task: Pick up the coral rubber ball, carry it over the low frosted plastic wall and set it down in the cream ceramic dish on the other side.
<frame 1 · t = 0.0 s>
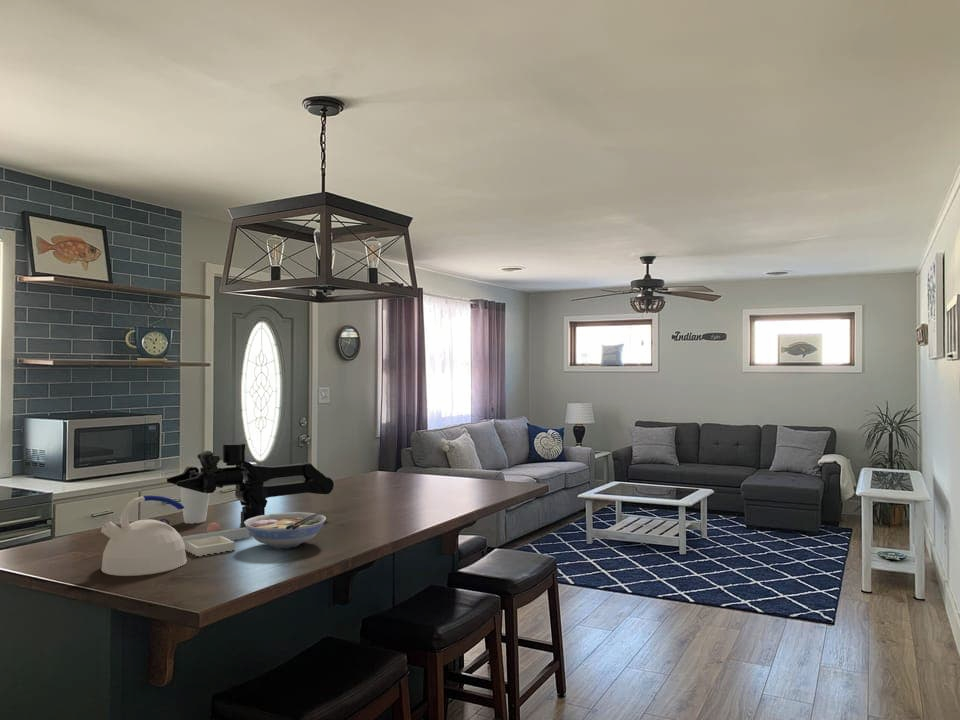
hand: (171, 482, 226), 17 cm above the table, tool horizontal, fingers open, 9 cm apart
ball: (213, 529, 228), point 2 cm above the table
kettle: (144, 566, 195), on the table
wall: (214, 542, 219), on the table
ramen bowl: (285, 546, 215), on the table
dish: (209, 550, 210), on the table
cup: (195, 522, 249), on the table
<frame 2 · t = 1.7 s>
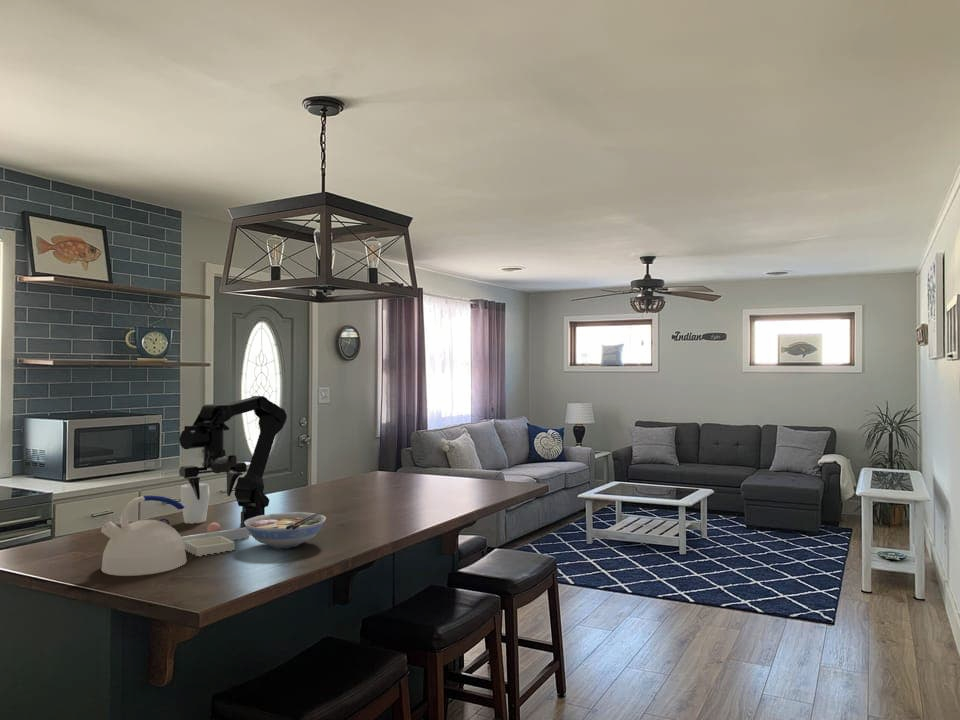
hand: (213, 497, 228), 11 cm above the table, tool pointing down, fingers open, 9 cm apart
nothing on the table moved.
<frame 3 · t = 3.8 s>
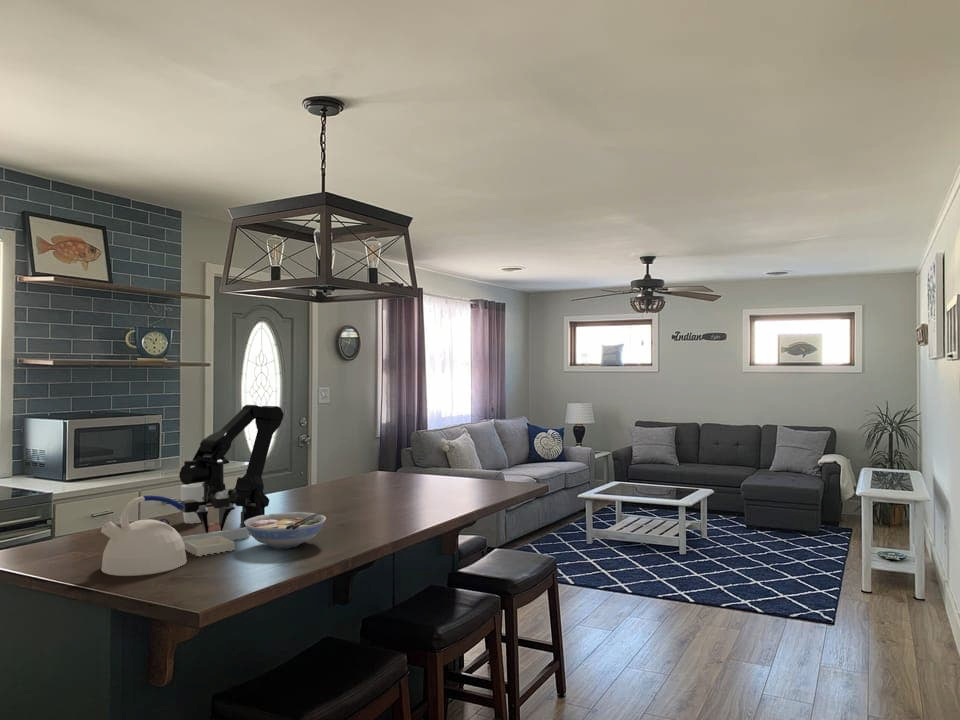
hand: (213, 531, 228), 1 cm above the table, tool pointing down, fingers closed on ball, 4 cm apart
ball: (213, 529, 228), point 2 cm above the table, touching gripper
everything else where it was.
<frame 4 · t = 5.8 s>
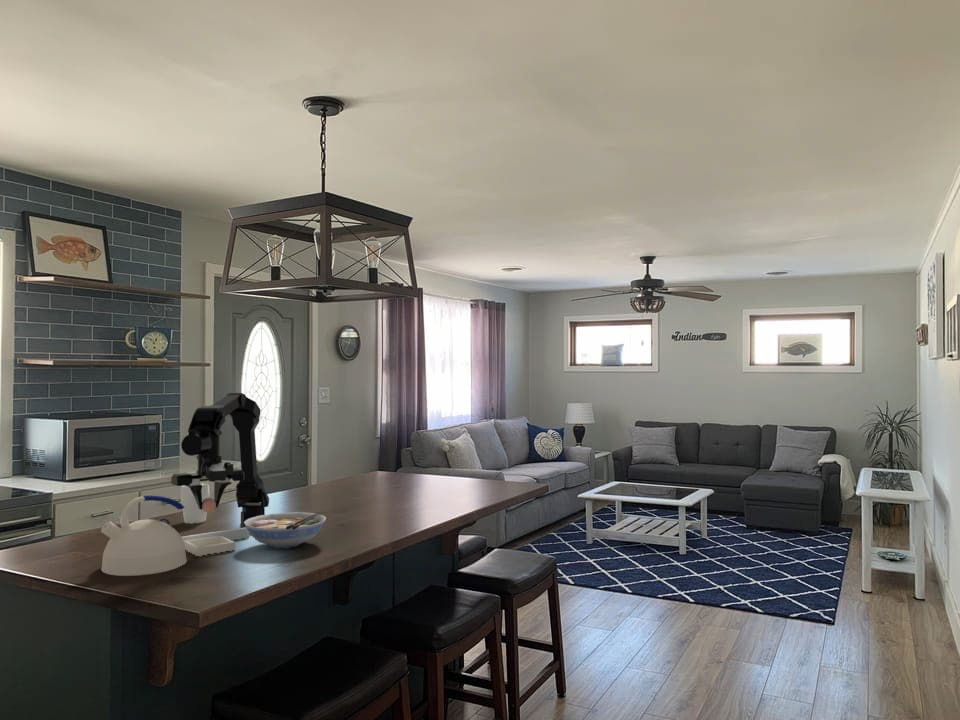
hand: (208, 508, 211), 12 cm above the table, tool pointing down, fingers closed on ball, 4 cm apart
ball: (208, 505, 211), point 12 cm above the table, touching gripper
everything else where it was.
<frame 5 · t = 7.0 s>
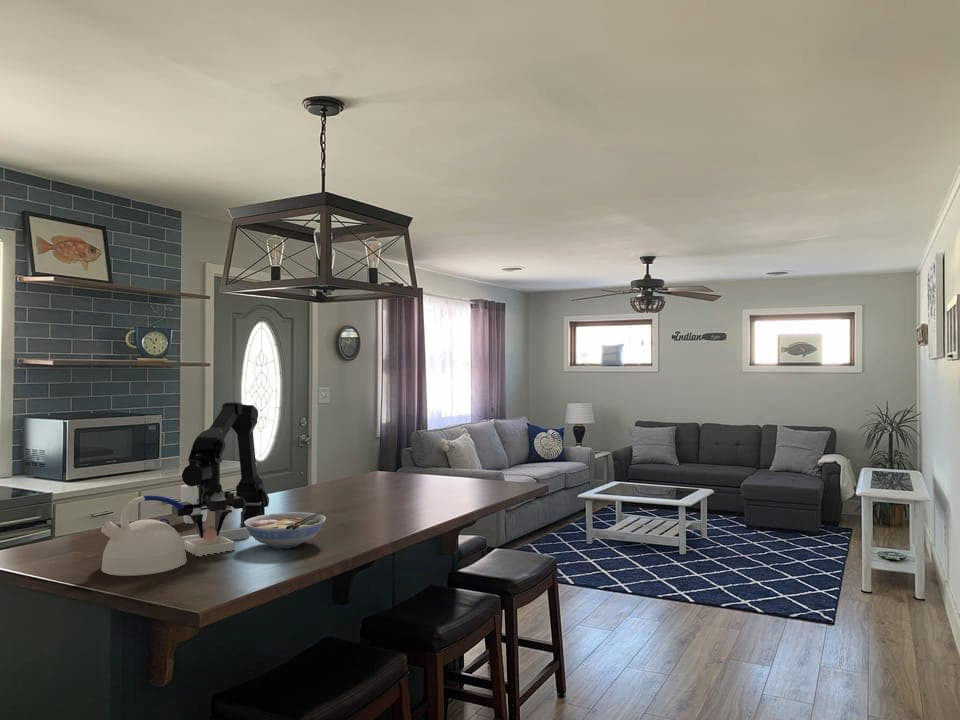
hand: (209, 536, 210), 4 cm above the table, tool pointing down, fingers closed on ball, 4 cm apart
ball: (209, 533, 210), point 5 cm above the table, touching gripper
everything else where it was.
when the fingers open (3 cm above the table, at t = 7.8 s): ball drops 1 cm, resting on dish.
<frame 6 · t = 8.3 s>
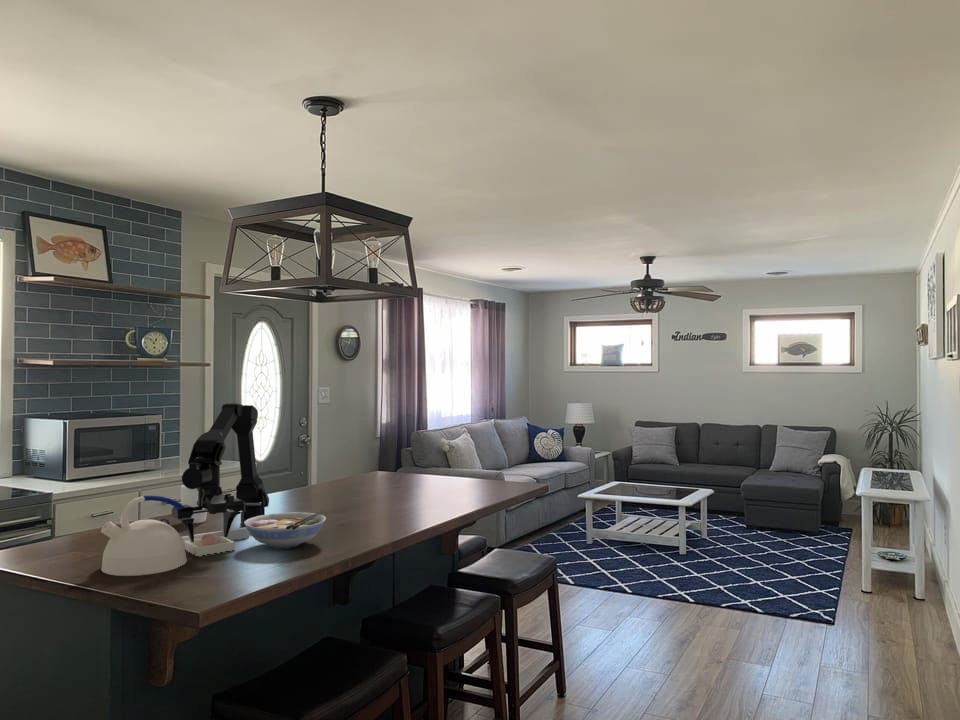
hand: (209, 539, 210), 3 cm above the table, tool pointing down, fingers open, 9 cm apart
ball: (208, 540, 210), point 3 cm above the table, tilted 8°, touching dish
everything else where it was.
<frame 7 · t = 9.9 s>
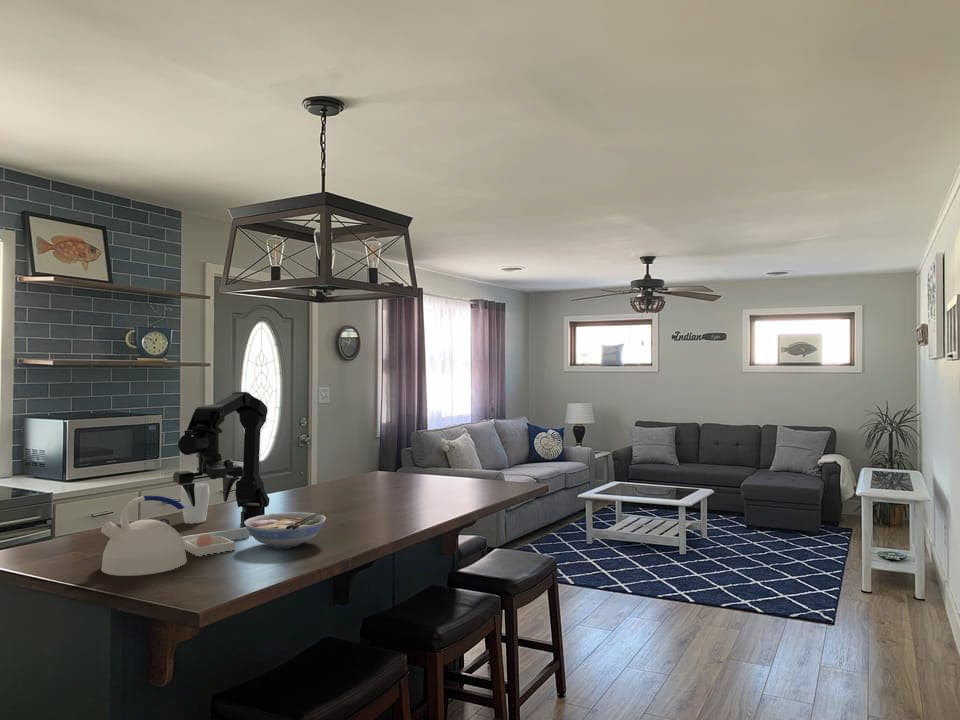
hand: (209, 503, 219), 11 cm above the table, tool pointing down, fingers open, 9 cm apart
ball: (204, 541, 210), point 3 cm above the table, tilted 38°, touching dish
everything else where it was.
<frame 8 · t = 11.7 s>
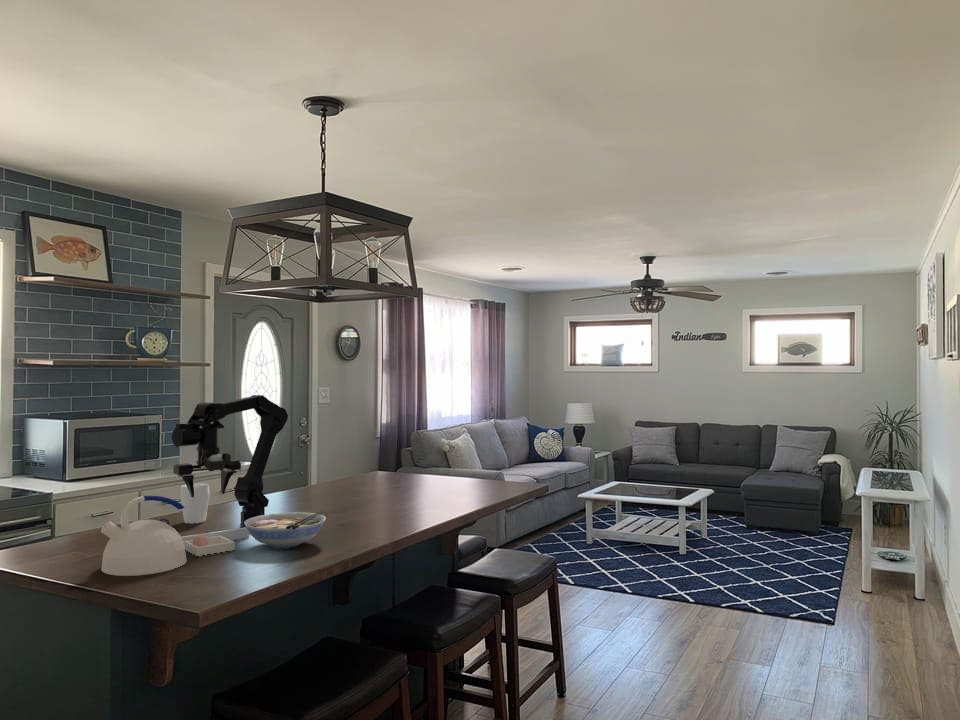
hand: (207, 495, 229), 12 cm above the table, tool pointing down, fingers open, 9 cm apart
ball: (200, 542, 209), point 3 cm above the table, tilted 71°, touching dish
everything else where it was.
at the end: ball inside the target area on the dish (2.5 cm from its centre), point 2.6 cm above the dish's base; the gripper is holding nothing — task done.
